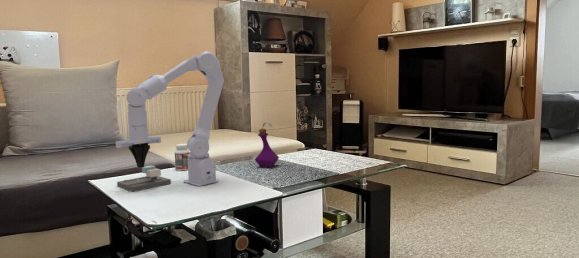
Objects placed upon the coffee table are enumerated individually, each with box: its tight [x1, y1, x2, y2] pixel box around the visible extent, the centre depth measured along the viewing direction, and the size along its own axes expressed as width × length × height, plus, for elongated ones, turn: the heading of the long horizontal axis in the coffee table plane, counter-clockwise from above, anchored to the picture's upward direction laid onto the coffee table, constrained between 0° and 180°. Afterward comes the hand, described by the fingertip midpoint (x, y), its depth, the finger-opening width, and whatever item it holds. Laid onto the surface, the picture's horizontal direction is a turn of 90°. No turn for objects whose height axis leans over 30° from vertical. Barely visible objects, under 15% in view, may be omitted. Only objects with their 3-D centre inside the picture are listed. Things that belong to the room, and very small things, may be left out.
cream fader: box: [147, 168, 162, 180], centre depth 141 cm, size 3×4×3 cm
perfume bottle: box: [254, 121, 280, 169], centre depth 167 cm, size 8×8×18 cm
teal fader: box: [141, 165, 157, 177], centre depth 146 cm, size 3×4×3 cm
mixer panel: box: [116, 175, 172, 192], centre depth 141 cm, size 11×14×2 cm
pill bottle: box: [174, 143, 191, 172], centre depth 165 cm, size 6×6×10 cm
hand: (140, 167), depth 137 cm, fingers closed
